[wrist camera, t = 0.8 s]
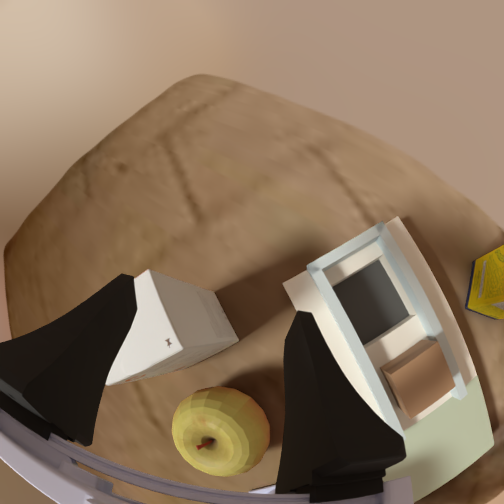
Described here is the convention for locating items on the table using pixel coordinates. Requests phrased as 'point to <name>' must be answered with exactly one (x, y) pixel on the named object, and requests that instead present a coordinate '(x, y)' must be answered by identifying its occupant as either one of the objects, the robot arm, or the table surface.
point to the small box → (170, 329)
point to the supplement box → (487, 285)
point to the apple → (221, 431)
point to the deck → (397, 346)
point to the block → (418, 377)
